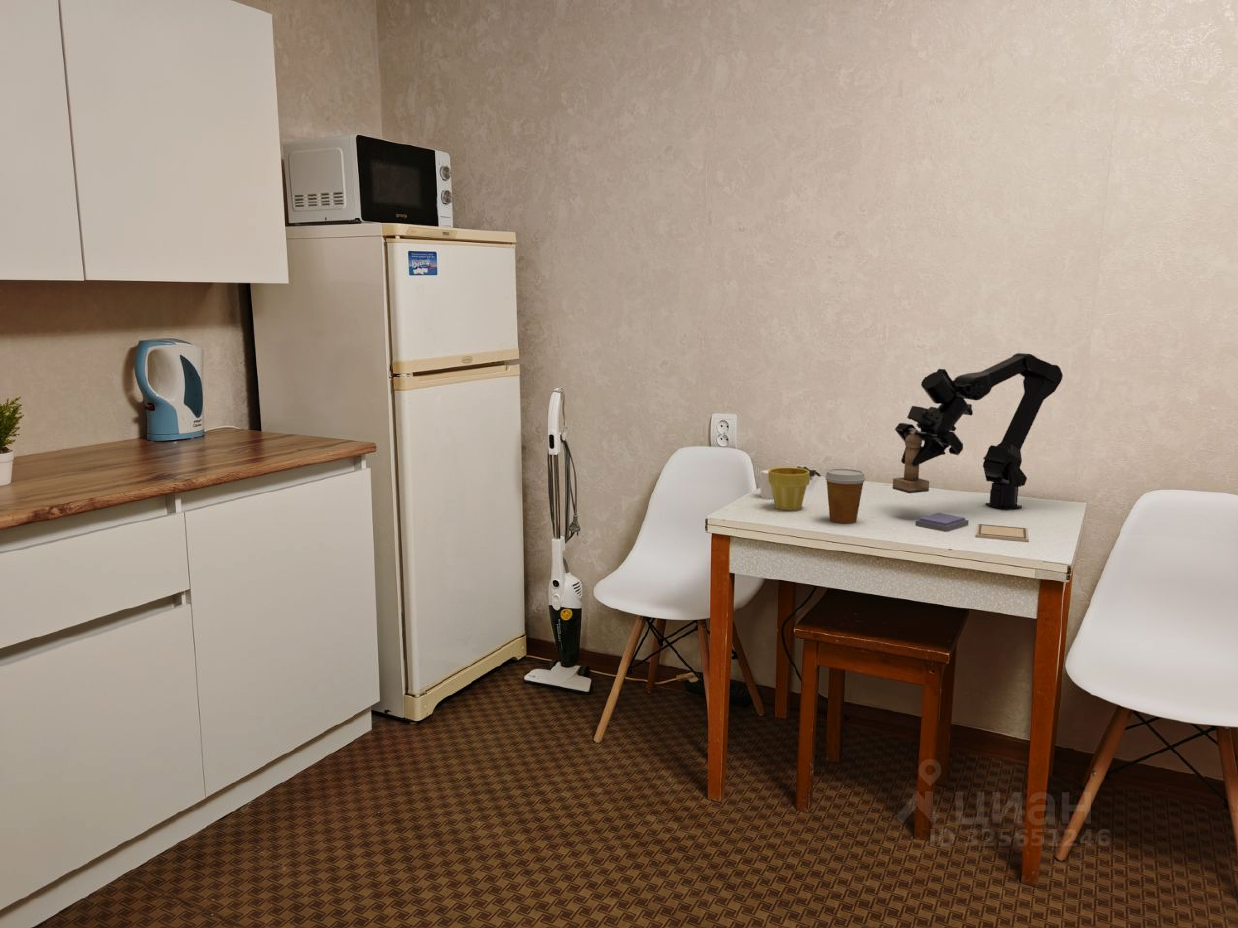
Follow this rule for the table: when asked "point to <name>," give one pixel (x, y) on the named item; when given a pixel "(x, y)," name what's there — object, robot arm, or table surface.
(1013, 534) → the beige square tile
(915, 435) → the stamp
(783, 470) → the plant pot
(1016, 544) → the table surface
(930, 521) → the ink pad
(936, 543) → the table surface
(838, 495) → the disposable coffee cup
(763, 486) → the white cube
